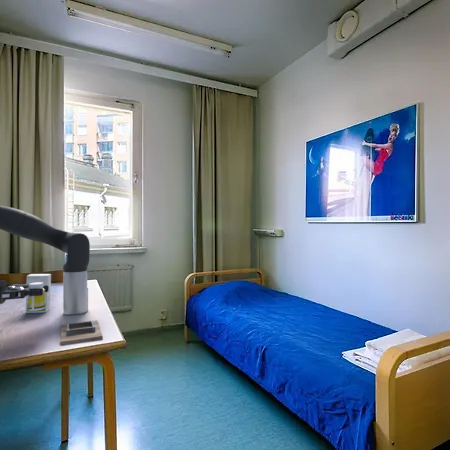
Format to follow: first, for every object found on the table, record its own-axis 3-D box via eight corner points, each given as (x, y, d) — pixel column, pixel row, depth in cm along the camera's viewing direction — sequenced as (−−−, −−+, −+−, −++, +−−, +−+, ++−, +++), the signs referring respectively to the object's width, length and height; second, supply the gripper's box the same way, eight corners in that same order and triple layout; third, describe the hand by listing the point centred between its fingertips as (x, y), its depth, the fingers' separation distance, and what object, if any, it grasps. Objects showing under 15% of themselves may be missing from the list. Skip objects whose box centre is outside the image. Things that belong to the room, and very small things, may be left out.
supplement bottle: (47, 307, 110) (47, 281, 110) (40, 311, 106) (40, 284, 106) (33, 307, 110) (32, 282, 110) (25, 311, 105) (24, 284, 105)
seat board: (61, 327, 118) (61, 320, 118) (97, 322, 123) (97, 316, 123) (60, 345, 100) (60, 336, 100) (102, 339, 105) (102, 331, 105)
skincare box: (25, 313, 137) (25, 276, 138) (29, 310, 144) (29, 273, 144) (47, 312, 140) (47, 275, 140) (51, 308, 146) (51, 273, 146)
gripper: (-26, 284, 98) (37, 282, 101) (-3, 277, 112) (52, 275, 115) (-26, 310, 98) (38, 306, 101) (-3, 299, 112) (52, 296, 116)
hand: (45, 290), depth 108 cm, fingers closed on supplement bottle, 4 cm apart
